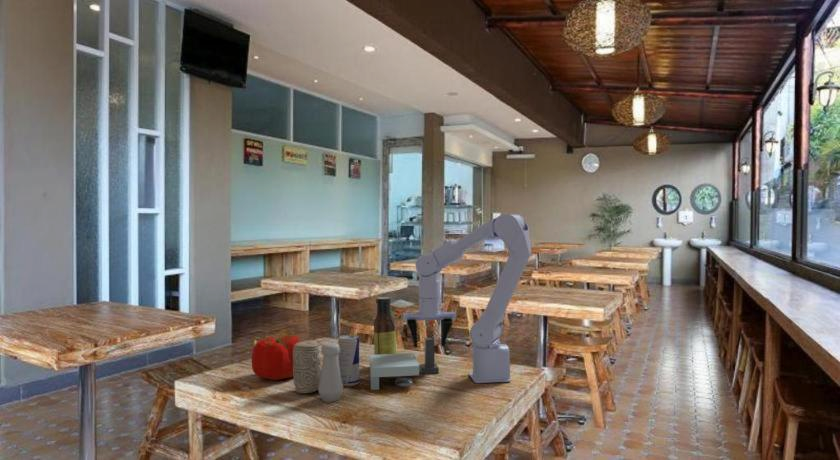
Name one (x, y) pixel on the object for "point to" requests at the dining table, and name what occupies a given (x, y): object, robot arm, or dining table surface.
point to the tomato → (274, 357)
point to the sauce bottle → (384, 328)
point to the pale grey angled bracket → (391, 367)
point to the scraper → (429, 358)
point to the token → (403, 382)
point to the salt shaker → (330, 374)
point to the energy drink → (349, 359)
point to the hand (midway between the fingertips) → (429, 346)
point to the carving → (306, 366)
